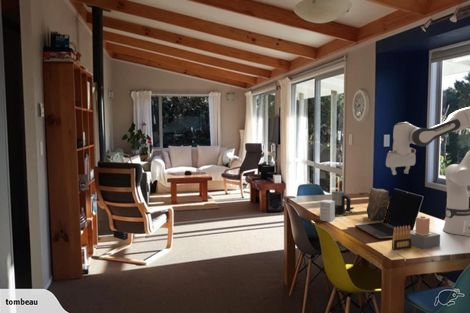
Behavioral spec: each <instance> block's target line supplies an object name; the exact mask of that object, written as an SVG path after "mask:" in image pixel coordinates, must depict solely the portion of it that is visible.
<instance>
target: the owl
mask: <svg viewBox="0 0 470 313" xmlns="http://www.w3.org/2000/svg"><path fill="white" fill-rule="evenodd" d="M389 193H390V190H386V189H384V188H374V187H370V192H369V194H368V204H367V208H366V215H367V219H368V220H369V222H384V221H383V220H384V218H385V215H386V212H387V208H389V205H390V198H389V196H390V195H389Z"/></svg>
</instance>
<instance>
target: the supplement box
mask: <svg viewBox="0 0 470 313" xmlns="http://www.w3.org/2000/svg"><path fill="white" fill-rule="evenodd" d="M335 216H336V214H335V201H332V199H331V200H330V199H322V200H321V201H319V220H320V221H324V222H329V223H330V222H332V221H335Z"/></svg>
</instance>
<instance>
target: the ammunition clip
mask: <svg viewBox="0 0 470 313" xmlns="http://www.w3.org/2000/svg"><path fill="white" fill-rule="evenodd" d="M410 231H411V226H410V224H409V225H408V226H407V225H403V226H401V225H400V226H399V225H397V227H396V226H394V228H393V232H392V239H391V249H392V250H393V251H398V250H406V249H407V250H408V249H412V245H411V232H410Z"/></svg>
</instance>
